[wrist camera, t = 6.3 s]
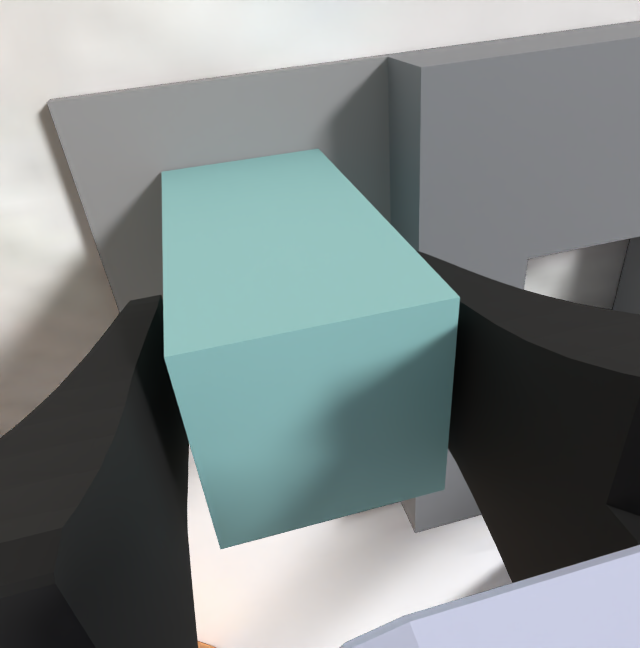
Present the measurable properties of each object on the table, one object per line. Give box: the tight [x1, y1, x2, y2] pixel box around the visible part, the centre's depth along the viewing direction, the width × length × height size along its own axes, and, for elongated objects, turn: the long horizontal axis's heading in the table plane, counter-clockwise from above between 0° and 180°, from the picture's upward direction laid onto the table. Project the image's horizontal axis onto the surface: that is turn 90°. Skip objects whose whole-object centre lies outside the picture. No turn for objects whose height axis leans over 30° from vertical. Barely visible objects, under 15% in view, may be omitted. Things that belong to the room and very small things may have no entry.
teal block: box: [162, 149, 460, 549], centre depth 11 cm, size 4×4×8 cm
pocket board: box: [384, 21, 640, 533], centre depth 18 cm, size 16×12×2 cm
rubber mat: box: [47, 55, 391, 312], centre depth 15 cm, size 8×8×1 cm
